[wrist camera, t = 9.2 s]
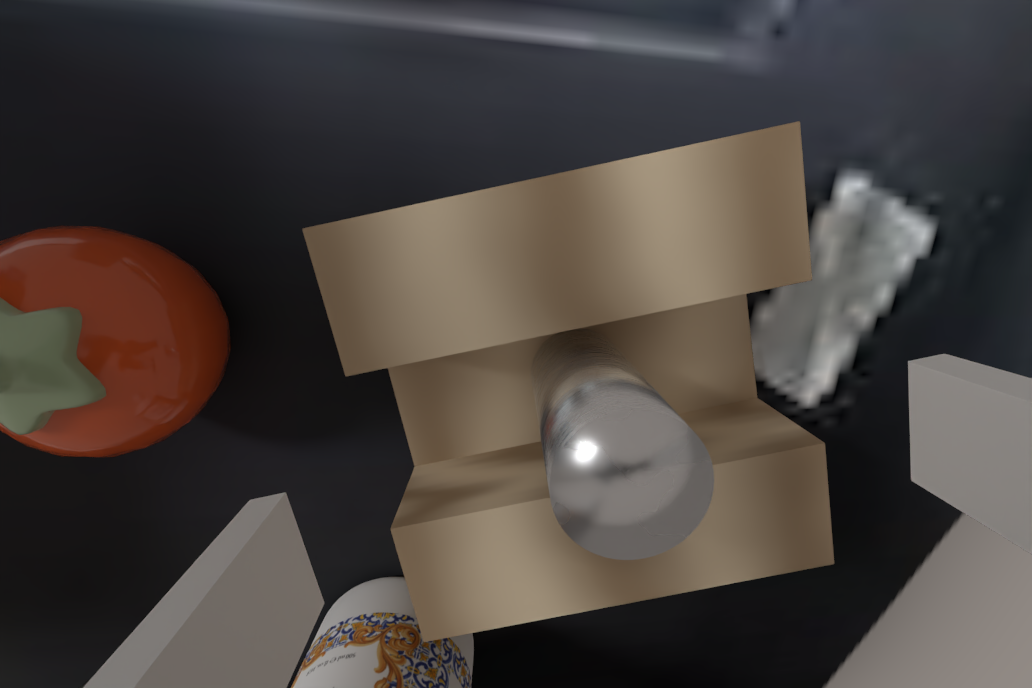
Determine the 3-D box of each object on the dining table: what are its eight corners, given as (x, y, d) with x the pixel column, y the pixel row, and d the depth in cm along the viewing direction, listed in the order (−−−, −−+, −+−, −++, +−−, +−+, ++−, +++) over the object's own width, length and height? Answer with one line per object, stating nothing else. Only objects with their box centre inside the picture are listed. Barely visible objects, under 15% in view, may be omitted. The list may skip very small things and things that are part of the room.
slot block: (442, 548, 22) (423, 642, 17) (356, 228, 19) (302, 228, 14) (758, 486, 22) (834, 564, 17) (721, 150, 19) (799, 121, 14)
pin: (541, 425, 20) (565, 573, 12) (522, 338, 20) (534, 427, 11) (629, 406, 20) (723, 543, 11) (614, 319, 19) (702, 393, 11)
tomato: (112, 189, 19) (-167, 160, 11) (298, 284, 20) (162, 320, 12) (50, 359, 20) (-237, 440, 12) (226, 441, 21) (62, 565, 13)
